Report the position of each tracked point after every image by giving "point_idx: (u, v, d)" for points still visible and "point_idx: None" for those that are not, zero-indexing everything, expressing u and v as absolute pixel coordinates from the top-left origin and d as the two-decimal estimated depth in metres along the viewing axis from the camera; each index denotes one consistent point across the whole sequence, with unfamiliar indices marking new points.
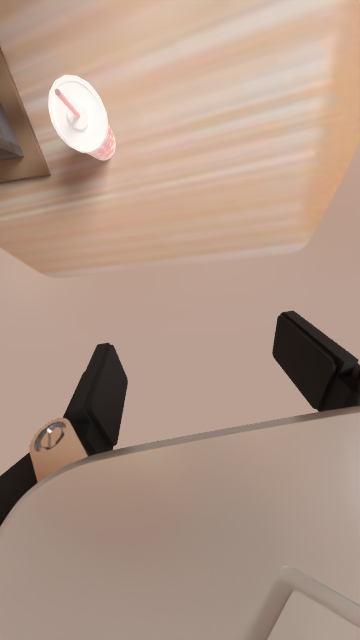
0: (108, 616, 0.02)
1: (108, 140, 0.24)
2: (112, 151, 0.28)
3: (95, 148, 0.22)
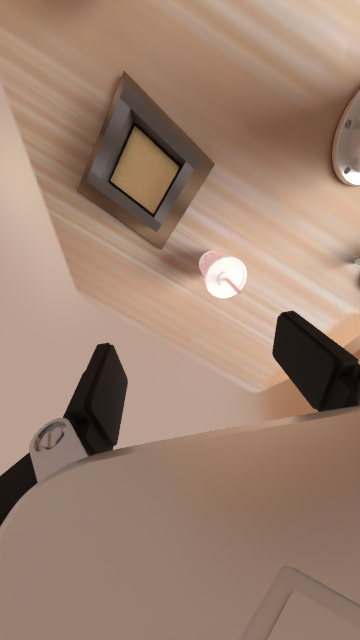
0: (108, 616, 0.02)
1: None
2: None
3: (217, 296, 0.28)
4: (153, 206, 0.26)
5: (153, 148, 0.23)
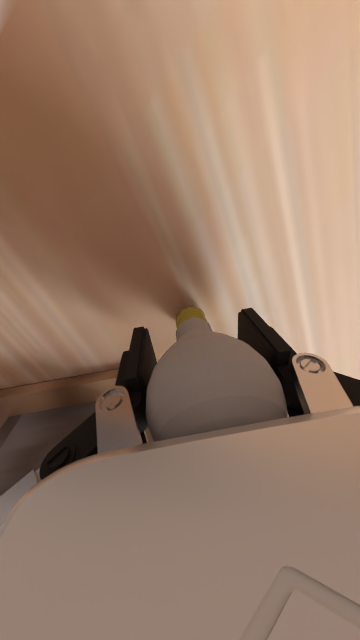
0: (108, 616, 0.02)
1: None
2: None
3: None
4: None
5: None
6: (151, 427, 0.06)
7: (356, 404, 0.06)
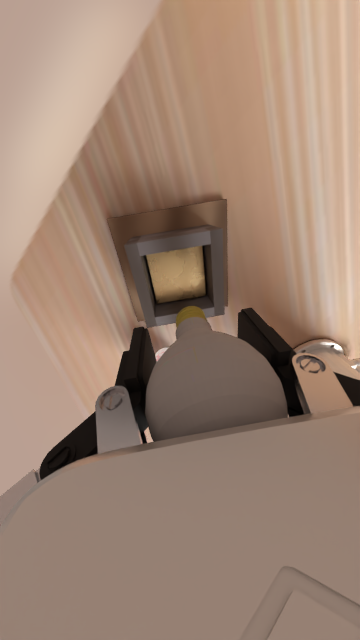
0: (108, 616, 0.02)
1: None
2: None
3: None
4: (162, 299, 0.24)
5: (200, 268, 0.22)
6: (151, 426, 0.06)
7: (356, 404, 0.06)
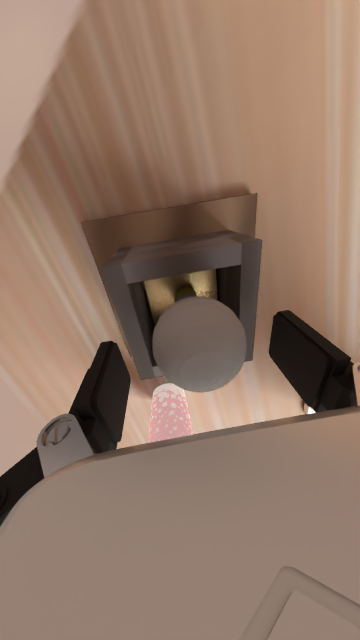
0: (108, 616, 0.02)
1: None
2: None
3: None
4: None
5: (211, 285, 0.17)
6: (156, 352, 0.10)
7: None
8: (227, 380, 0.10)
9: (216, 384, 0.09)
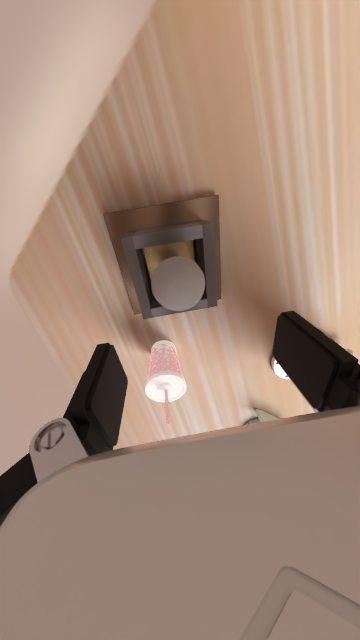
0: (108, 616, 0.02)
1: None
2: None
3: (148, 396, 0.28)
4: None
5: (191, 258, 0.25)
6: (153, 285, 0.18)
7: None
8: (192, 299, 0.18)
9: (186, 300, 0.17)
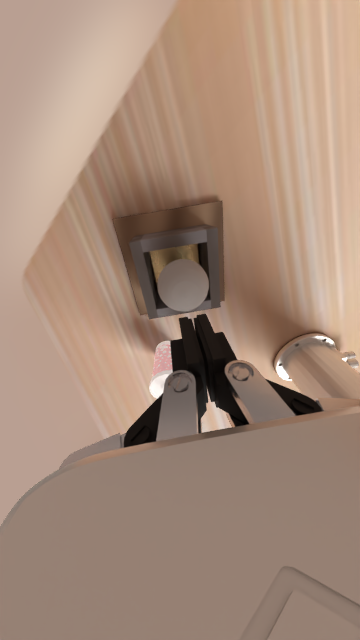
0: (108, 616, 0.02)
1: None
2: None
3: (152, 394, 0.29)
4: None
5: (195, 261, 0.26)
6: (160, 286, 0.19)
7: None
8: (196, 300, 0.18)
9: (190, 301, 0.18)
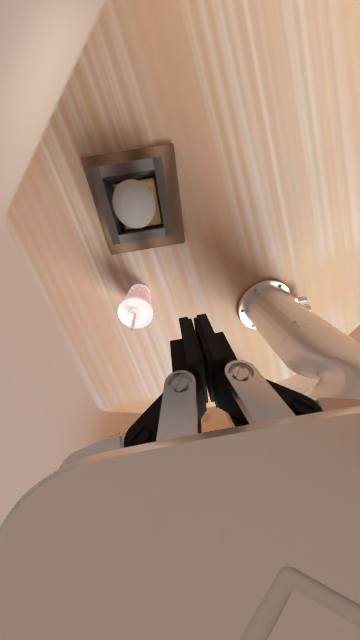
0: (108, 616, 0.02)
1: None
2: None
3: (121, 320, 0.34)
4: None
5: None
6: (113, 201, 0.23)
7: None
8: (142, 210, 0.23)
9: (136, 210, 0.23)
